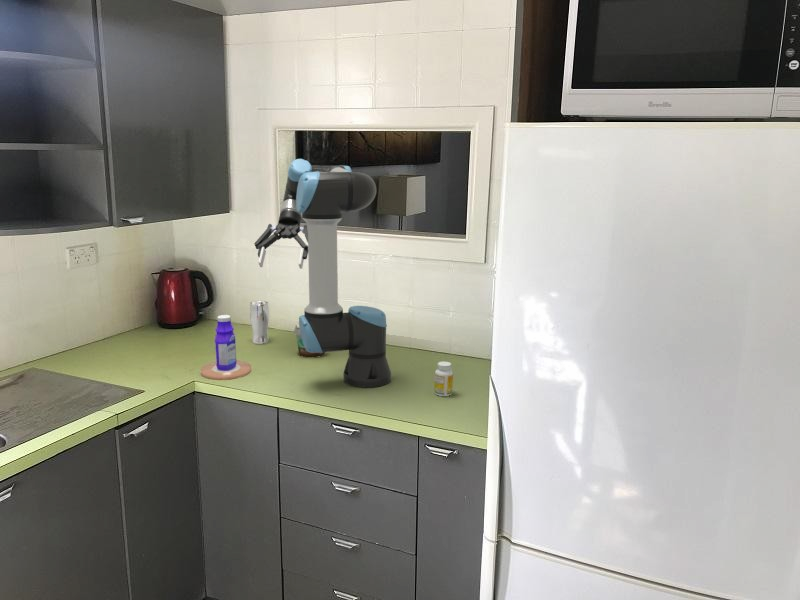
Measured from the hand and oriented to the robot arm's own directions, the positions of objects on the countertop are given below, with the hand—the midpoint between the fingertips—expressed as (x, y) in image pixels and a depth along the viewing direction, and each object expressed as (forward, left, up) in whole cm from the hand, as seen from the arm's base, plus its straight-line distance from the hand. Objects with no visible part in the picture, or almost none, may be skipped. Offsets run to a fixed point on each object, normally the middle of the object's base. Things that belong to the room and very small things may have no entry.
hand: (280, 265), depth 218 cm
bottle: (+9, +19, -32) cm, 38 cm away
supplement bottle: (-61, +4, -33) cm, 70 cm away
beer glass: (+19, -12, -33) cm, 40 cm away
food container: (-6, -7, -33) cm, 34 cm away
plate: (+9, +19, -33) cm, 39 cm away
